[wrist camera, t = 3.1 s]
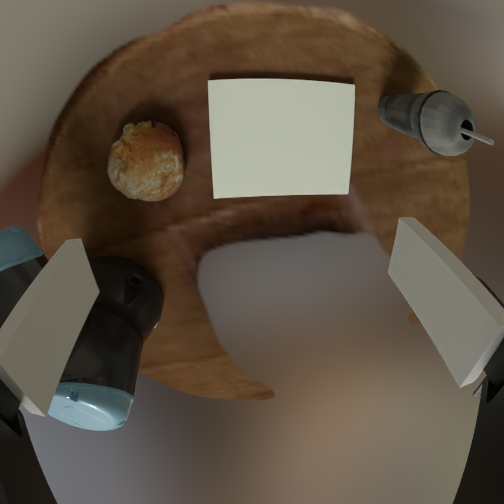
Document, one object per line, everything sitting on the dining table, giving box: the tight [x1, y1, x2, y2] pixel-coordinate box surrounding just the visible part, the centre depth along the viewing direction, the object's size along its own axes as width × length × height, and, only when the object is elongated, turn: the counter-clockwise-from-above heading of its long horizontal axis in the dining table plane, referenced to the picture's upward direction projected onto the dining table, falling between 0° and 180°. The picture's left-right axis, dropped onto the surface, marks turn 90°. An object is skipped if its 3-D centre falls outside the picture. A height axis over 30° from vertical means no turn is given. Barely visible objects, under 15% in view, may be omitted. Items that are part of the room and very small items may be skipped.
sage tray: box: [208, 79, 355, 198], centre depth 35 cm, size 18×15×1 cm
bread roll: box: [107, 119, 186, 201], centre depth 33 cm, size 10×10×8 cm
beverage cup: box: [378, 90, 494, 156], centre depth 26 cm, size 7×7×20 cm
